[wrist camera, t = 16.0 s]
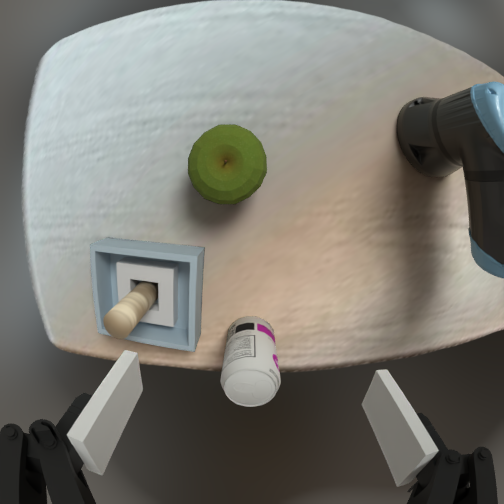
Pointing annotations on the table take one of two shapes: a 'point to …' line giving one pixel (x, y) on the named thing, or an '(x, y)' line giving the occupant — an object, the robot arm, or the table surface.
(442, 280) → the table surface
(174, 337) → the crate
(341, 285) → the table surface
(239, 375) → the supplement can
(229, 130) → the apple
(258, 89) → the table surface
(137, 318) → the peg
